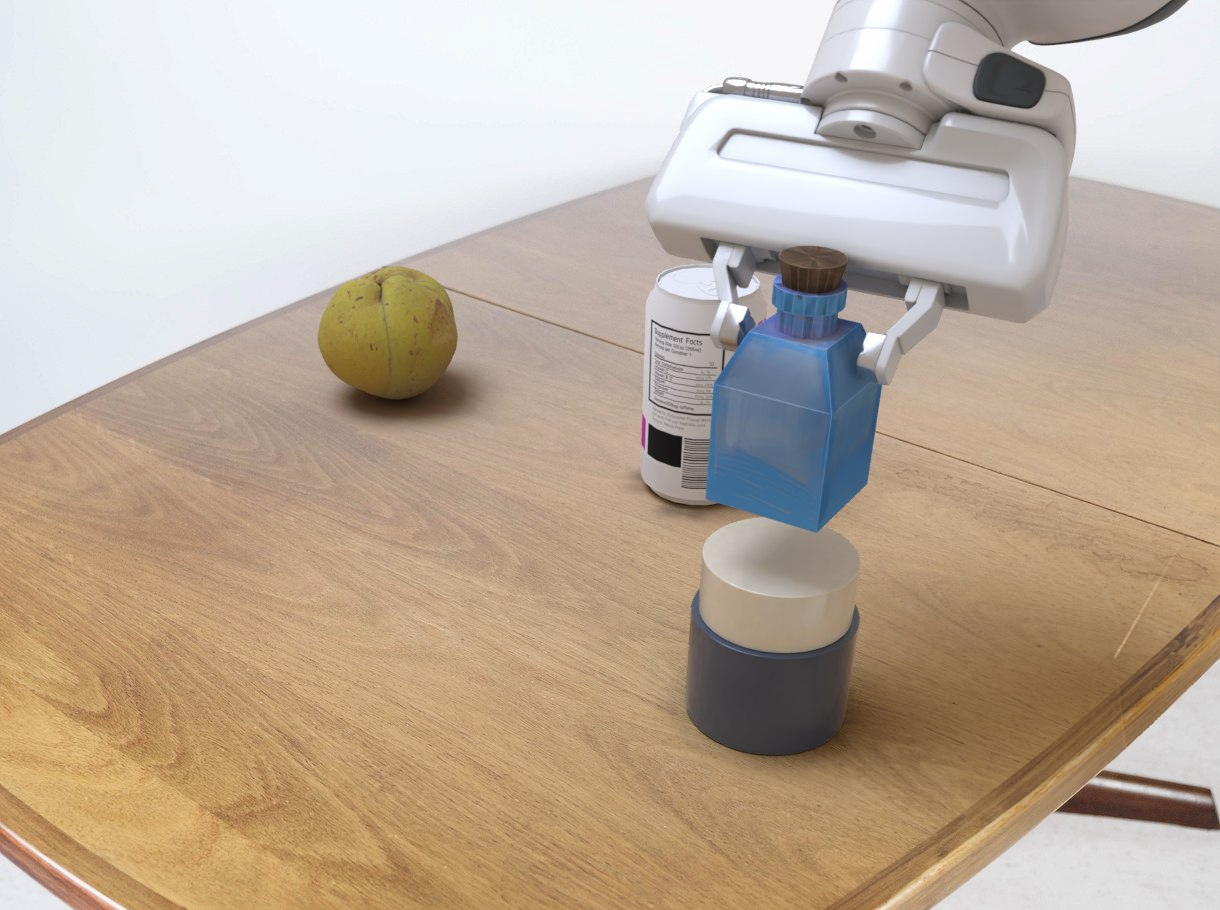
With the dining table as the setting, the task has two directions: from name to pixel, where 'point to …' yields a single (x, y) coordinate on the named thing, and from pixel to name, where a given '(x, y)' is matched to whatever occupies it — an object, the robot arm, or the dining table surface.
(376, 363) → the fruit
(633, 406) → the dining table surface
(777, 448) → the perfume bottle
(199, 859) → the dining table surface
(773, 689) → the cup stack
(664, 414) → the supplement can
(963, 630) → the dining table surface
